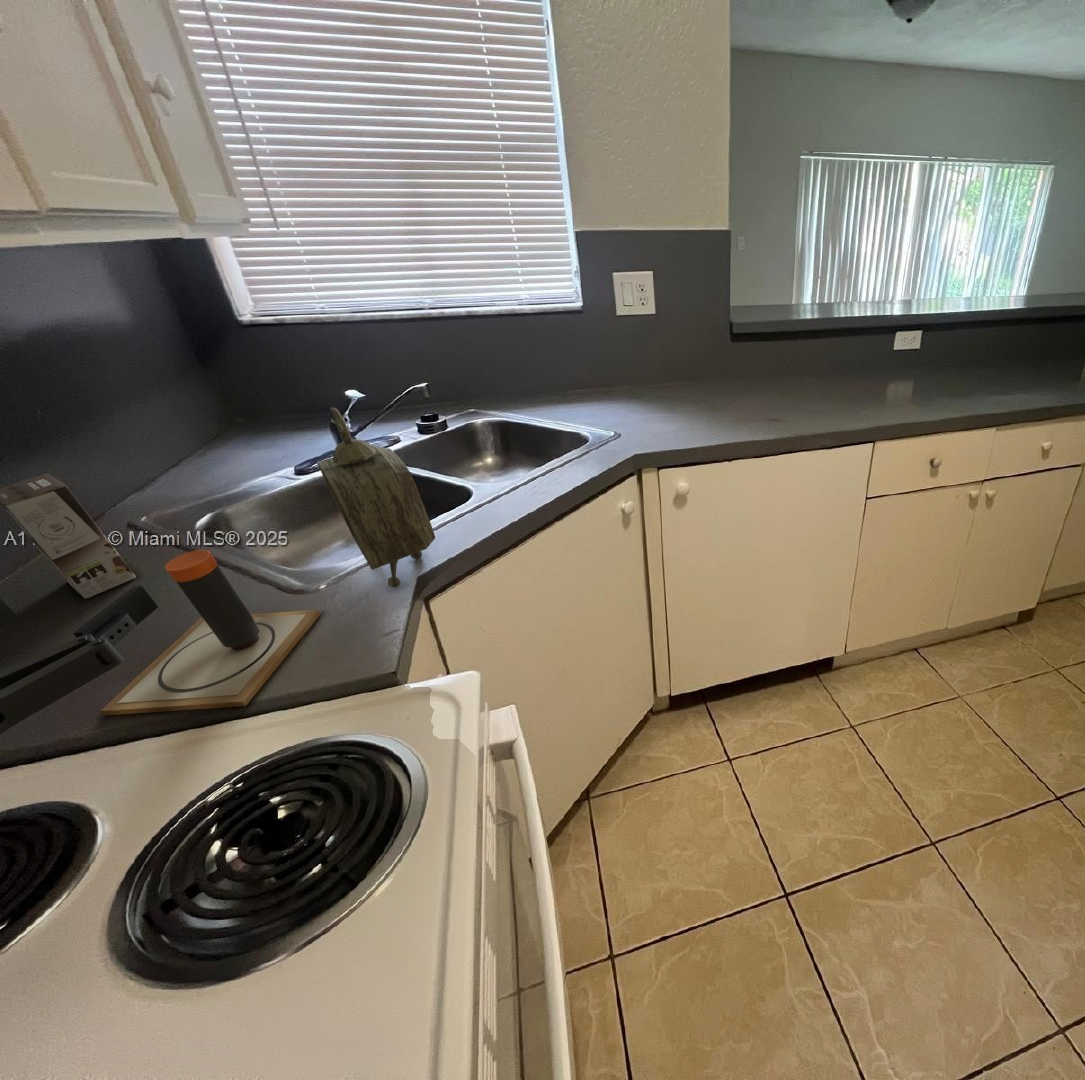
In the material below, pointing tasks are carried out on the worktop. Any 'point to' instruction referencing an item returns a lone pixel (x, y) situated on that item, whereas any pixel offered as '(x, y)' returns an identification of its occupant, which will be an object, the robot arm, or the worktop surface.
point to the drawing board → (212, 668)
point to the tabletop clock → (377, 501)
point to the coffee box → (65, 534)
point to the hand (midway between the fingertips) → (75, 600)
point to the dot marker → (214, 598)
